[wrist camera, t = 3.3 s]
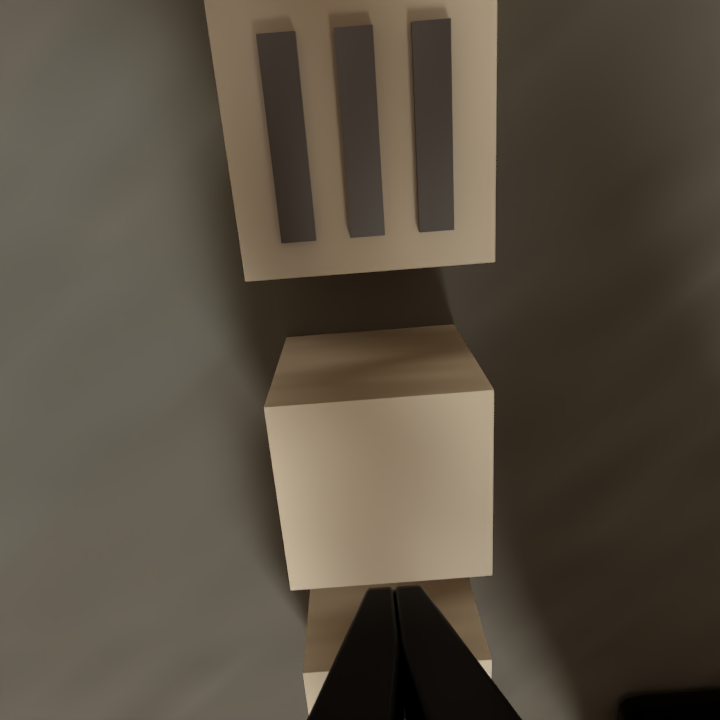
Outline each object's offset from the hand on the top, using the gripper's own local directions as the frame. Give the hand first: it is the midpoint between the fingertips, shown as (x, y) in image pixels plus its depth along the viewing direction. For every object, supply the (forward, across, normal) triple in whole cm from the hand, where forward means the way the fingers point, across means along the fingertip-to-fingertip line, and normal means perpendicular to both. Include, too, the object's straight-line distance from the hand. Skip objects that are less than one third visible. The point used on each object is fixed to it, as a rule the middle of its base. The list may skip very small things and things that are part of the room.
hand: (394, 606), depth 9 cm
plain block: (+8, 0, 0) cm, 8 cm away
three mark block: (+8, 0, -7) cm, 10 cm away
